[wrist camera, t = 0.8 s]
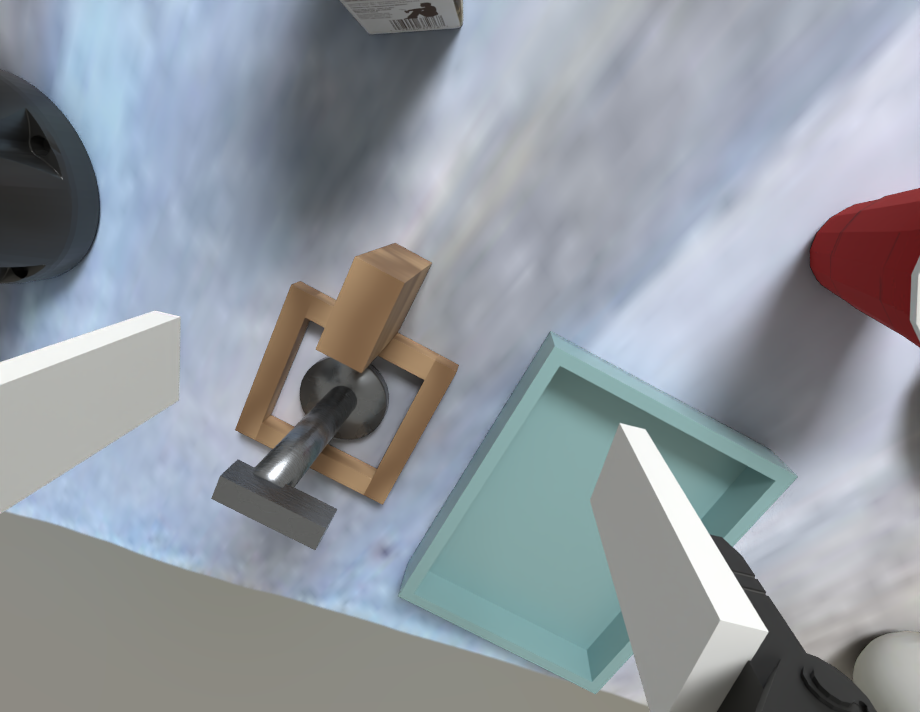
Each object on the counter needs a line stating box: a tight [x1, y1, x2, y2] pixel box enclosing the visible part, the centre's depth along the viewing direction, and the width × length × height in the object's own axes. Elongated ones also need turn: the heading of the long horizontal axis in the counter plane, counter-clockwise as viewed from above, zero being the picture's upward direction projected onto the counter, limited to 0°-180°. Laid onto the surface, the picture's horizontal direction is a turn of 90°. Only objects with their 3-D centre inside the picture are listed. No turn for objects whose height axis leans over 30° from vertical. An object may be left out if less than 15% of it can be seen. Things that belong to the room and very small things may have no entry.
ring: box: [235, 243, 459, 505], centre depth 33 cm, size 14×20×9 cm
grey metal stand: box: [211, 356, 389, 550], centre depth 31 cm, size 8×7×15 cm
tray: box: [398, 331, 798, 694], centre depth 37 cm, size 19×25×4 cm
